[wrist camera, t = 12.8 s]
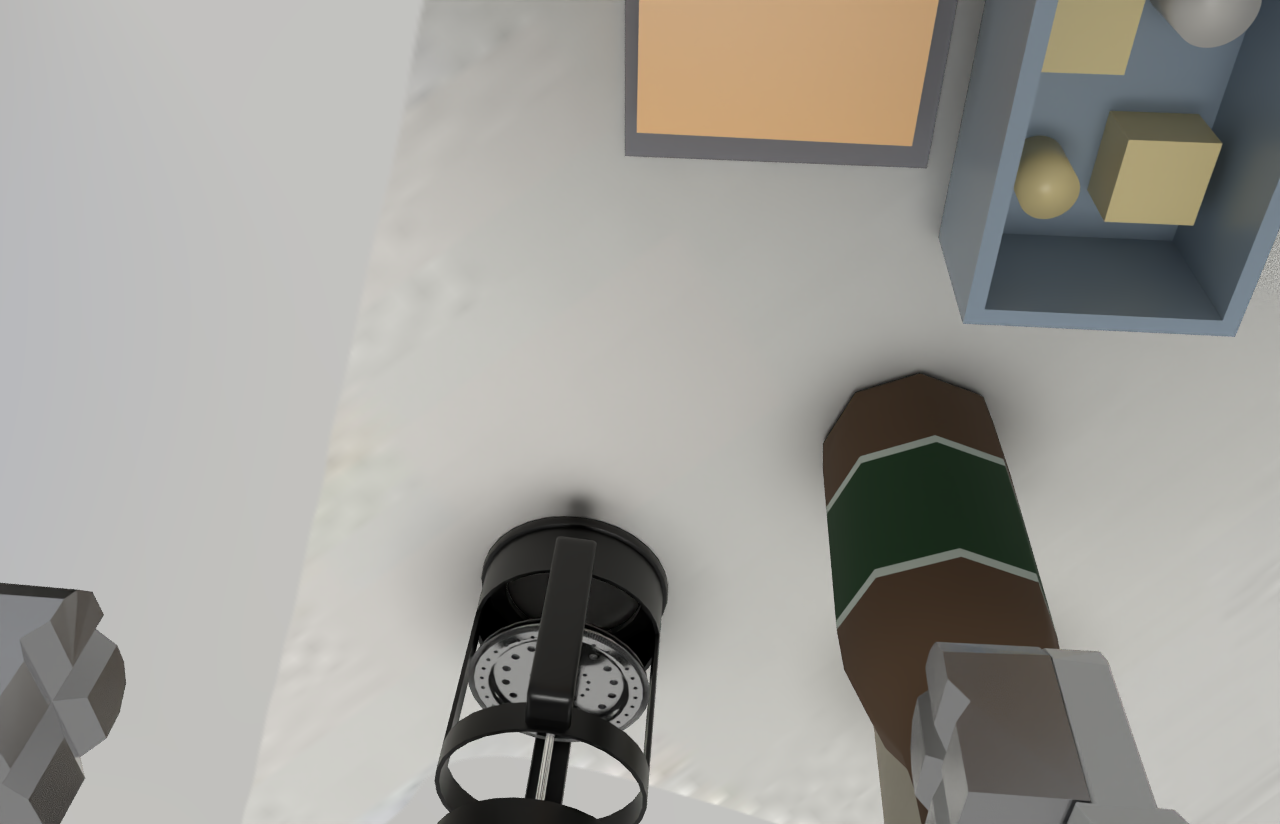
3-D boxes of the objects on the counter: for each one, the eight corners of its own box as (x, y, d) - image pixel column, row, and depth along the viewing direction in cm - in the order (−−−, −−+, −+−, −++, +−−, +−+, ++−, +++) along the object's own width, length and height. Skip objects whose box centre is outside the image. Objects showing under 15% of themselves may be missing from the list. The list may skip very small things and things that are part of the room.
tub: (1324, -164, 33) (1421, -116, 28) (1179, 247, 42) (1235, 336, 37) (1019, -171, 33) (1065, -126, 29) (938, 237, 42) (963, 323, 37)
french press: (655, 663, 59) (615, 1156, 41) (481, 640, 59) (363, 1124, 41) (684, 504, 52) (651, 1017, 33) (485, 477, 51) (345, 978, 33)
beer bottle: (986, 506, 50) (1132, 1079, 31) (814, 502, 51) (856, 1062, 32) (1016, 368, 45) (1208, 946, 27) (826, 366, 46) (883, 928, 27)
